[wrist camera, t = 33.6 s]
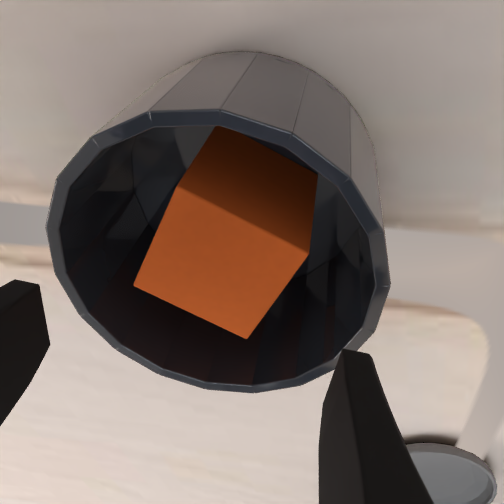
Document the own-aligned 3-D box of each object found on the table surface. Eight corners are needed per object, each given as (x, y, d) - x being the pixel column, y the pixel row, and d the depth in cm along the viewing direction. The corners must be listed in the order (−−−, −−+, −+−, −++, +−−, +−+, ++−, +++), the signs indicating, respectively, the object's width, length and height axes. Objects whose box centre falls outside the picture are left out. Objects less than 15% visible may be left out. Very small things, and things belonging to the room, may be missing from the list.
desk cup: (134, 263, 21) (72, 363, 16) (118, 30, 16) (15, 79, 11) (346, 300, 21) (346, 417, 16) (410, 70, 15) (440, 141, 10)
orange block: (268, 252, 19) (247, 340, 15) (178, 207, 19) (132, 285, 15) (318, 174, 17) (309, 254, 13) (218, 120, 16) (176, 185, 12)
